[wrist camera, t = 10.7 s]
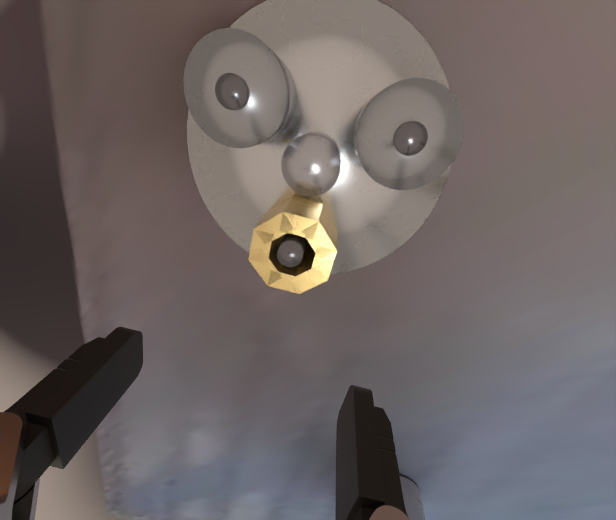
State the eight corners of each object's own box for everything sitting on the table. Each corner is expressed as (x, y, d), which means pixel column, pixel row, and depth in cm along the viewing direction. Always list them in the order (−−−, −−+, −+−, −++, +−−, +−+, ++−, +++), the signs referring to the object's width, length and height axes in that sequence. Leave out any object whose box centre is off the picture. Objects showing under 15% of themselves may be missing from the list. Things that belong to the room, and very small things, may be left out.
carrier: (283, 300, 30) (269, 343, 24) (142, 112, 23) (79, 110, 18) (487, 201, 24) (533, 227, 18) (374, -92, 17) (391, -194, 12)
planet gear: (289, 275, 27) (280, 302, 23) (251, 220, 25) (234, 240, 21) (347, 245, 25) (348, 270, 21) (311, 184, 23) (305, 198, 19)
